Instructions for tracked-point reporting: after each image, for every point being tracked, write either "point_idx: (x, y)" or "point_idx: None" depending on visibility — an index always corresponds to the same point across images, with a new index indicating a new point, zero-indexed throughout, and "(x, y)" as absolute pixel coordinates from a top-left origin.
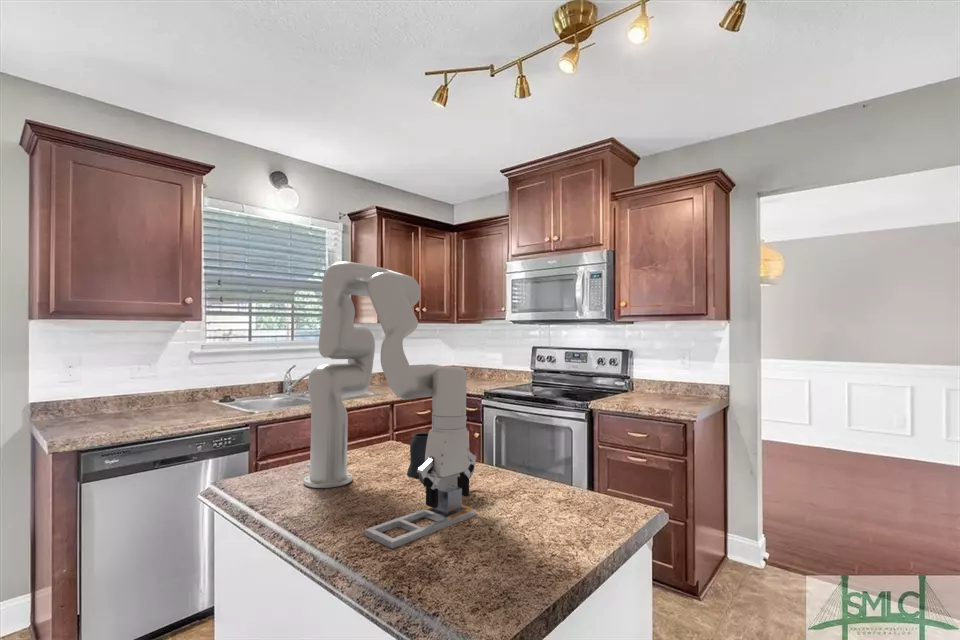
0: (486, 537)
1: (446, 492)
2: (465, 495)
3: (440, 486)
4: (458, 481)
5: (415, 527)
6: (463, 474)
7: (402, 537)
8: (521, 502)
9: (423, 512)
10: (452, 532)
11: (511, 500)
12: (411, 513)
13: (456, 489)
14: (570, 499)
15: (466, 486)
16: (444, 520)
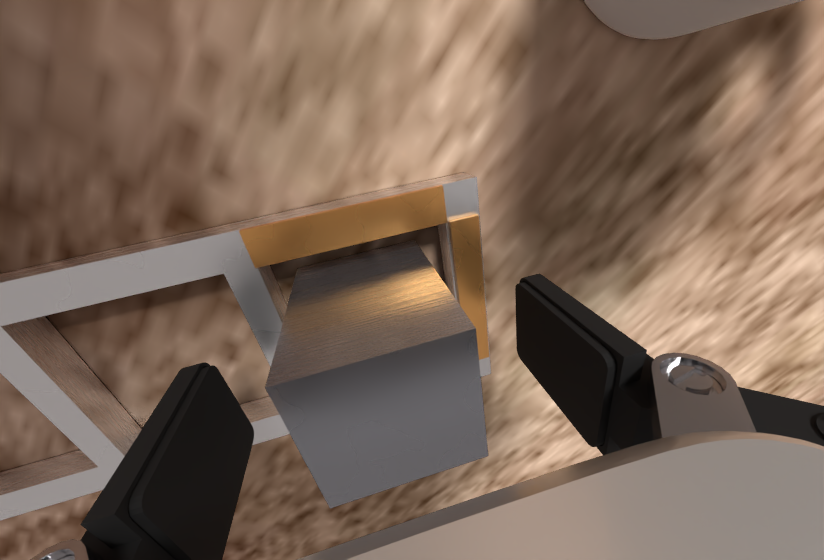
0: (376, 510)
1: (325, 499)
2: (519, 352)
3: (363, 366)
4: (578, 350)
5: (84, 450)
6: (653, 439)
7: None
8: (710, 324)
9: (215, 274)
10: (289, 456)
11: (715, 286)
12: (106, 263)
13: (435, 467)
14: (802, 372)
15: (558, 402)
16: (282, 426)
